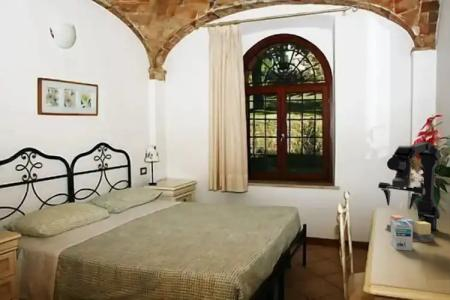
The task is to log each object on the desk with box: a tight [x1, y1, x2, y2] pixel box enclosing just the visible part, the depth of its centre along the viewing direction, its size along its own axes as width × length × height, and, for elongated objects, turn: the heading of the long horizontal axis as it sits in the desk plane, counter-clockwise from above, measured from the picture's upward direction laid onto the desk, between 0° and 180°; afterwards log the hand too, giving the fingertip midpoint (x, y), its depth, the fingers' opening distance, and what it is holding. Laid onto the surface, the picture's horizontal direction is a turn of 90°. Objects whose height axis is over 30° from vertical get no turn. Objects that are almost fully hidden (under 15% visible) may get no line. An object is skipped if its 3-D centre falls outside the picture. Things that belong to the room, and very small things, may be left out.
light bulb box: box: [390, 219, 413, 251], centre depth 164 cm, size 11×7×11 cm, turn 168°
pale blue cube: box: [400, 218, 416, 231], centre depth 181 cm, size 5×5×5 cm
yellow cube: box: [414, 221, 432, 235], centre depth 175 cm, size 5×5×5 cm
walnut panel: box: [385, 224, 435, 243], centre depth 182 cm, size 12×21×3 cm, turn 3°
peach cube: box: [389, 214, 406, 225], centre depth 188 cm, size 5×5×5 cm
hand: (398, 207), depth 174 cm, fingers open, 9 cm apart
